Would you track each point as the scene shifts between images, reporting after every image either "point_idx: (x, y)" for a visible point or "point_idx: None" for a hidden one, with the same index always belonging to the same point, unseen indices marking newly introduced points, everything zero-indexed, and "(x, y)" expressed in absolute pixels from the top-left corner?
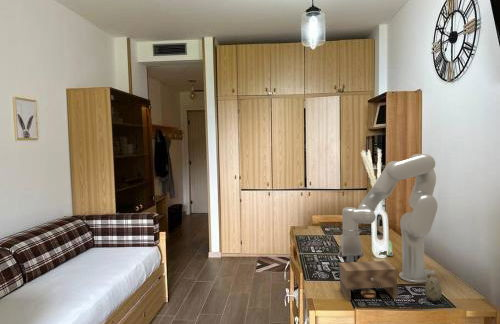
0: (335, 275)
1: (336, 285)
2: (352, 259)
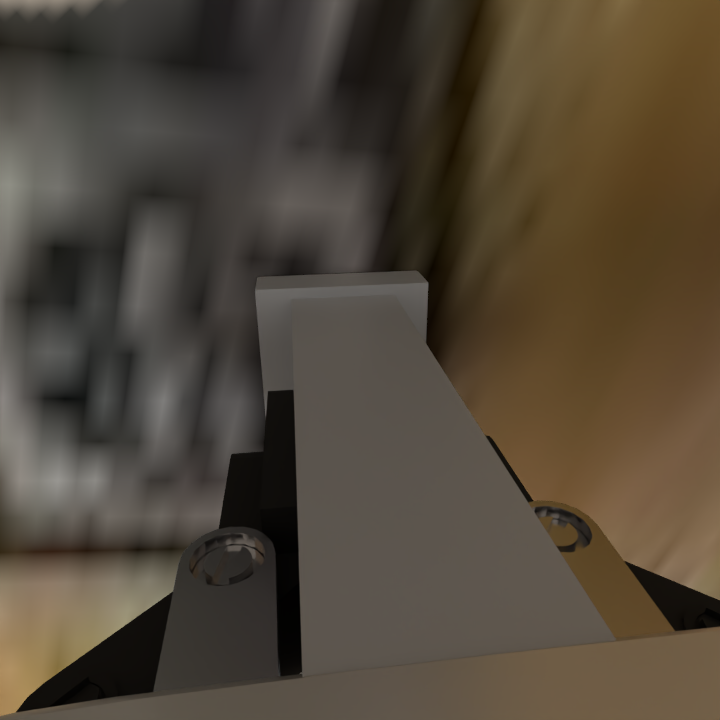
0: (29, 368)
1: None
2: None
